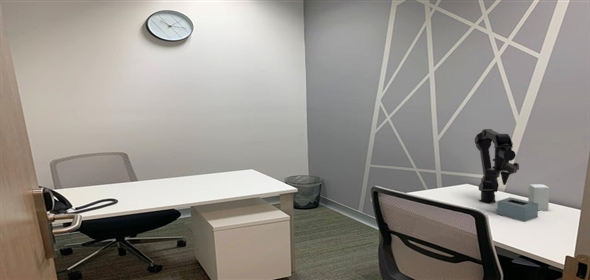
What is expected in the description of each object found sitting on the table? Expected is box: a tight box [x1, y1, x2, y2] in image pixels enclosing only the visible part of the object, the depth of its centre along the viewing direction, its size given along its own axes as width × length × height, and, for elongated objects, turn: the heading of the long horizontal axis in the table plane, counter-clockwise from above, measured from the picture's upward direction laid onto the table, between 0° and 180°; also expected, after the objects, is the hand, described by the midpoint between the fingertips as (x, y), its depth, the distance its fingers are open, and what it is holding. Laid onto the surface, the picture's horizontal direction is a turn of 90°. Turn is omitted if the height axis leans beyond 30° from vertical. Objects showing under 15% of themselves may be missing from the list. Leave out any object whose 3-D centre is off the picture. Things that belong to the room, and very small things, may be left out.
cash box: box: [496, 196, 539, 222], centre depth 194 cm, size 14×12×7 cm
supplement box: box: [527, 183, 550, 212], centre depth 204 cm, size 7×7×13 cm
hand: (499, 186), depth 203 cm, fingers open, 9 cm apart
